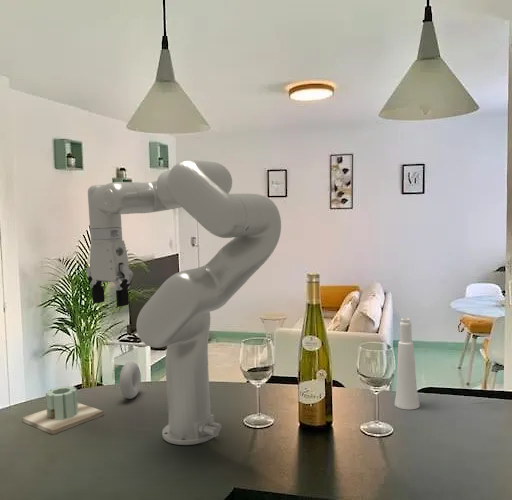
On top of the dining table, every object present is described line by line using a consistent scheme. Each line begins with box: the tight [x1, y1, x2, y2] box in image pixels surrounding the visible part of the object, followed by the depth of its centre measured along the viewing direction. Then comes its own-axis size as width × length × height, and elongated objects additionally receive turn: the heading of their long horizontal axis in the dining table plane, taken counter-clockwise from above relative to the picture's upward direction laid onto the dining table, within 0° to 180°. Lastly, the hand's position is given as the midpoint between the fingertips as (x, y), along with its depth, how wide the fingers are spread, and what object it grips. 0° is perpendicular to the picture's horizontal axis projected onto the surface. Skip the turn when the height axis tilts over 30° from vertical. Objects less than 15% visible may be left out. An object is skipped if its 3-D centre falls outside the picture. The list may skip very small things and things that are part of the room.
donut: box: [119, 361, 142, 400], centre depth 146 cm, size 10×4×10 cm, turn 172°
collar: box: [45, 385, 79, 420], centre depth 133 cm, size 7×7×6 cm
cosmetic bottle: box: [394, 317, 421, 411], centre depth 132 cm, size 6×6×22 cm
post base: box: [21, 393, 104, 435], centre depth 134 cm, size 14×14×6 cm
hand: (110, 304), depth 132 cm, fingers open, 9 cm apart
